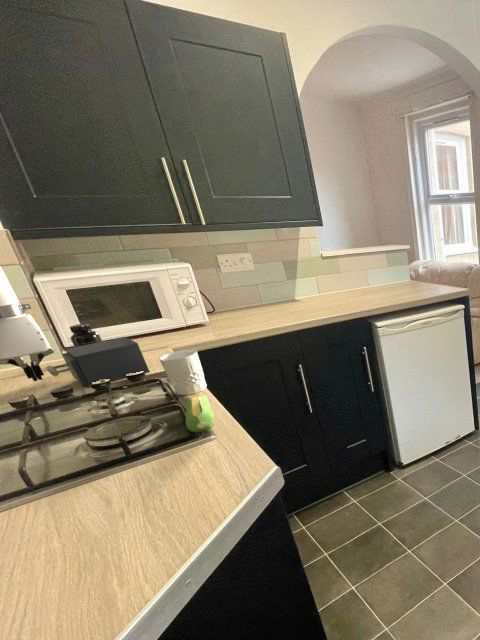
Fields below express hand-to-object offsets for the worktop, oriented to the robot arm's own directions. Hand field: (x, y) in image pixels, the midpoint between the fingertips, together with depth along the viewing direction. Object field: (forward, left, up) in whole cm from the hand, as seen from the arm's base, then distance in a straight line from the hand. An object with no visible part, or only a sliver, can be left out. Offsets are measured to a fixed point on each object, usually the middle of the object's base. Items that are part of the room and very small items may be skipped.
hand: (37, 379), depth 113 cm
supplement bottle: (+6, +28, -4) cm, 29 cm away
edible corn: (+37, -47, -4) cm, 60 cm away
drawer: (+10, +4, -3) cm, 11 cm away
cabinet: (+14, +5, -4) cm, 15 cm away
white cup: (+34, -25, -4) cm, 42 cm away
